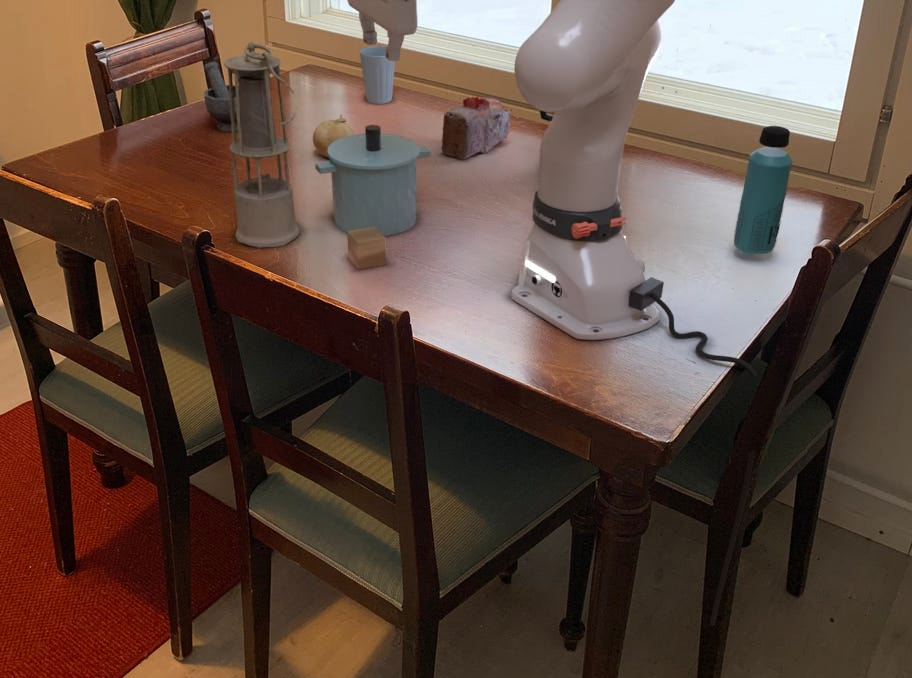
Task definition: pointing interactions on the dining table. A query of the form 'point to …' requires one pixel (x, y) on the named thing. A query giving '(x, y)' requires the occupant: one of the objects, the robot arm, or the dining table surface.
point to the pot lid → (373, 150)
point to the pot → (374, 196)
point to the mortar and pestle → (220, 99)
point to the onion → (330, 134)
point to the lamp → (260, 152)
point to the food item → (474, 127)
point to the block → (366, 248)
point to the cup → (377, 74)
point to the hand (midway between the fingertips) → (381, 51)
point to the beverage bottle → (764, 193)
